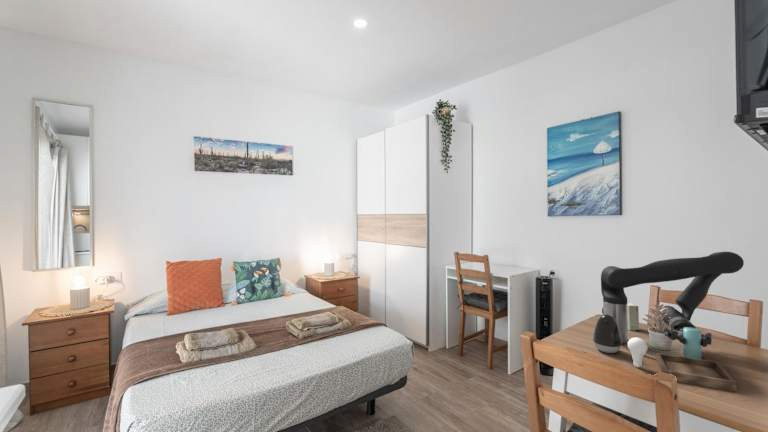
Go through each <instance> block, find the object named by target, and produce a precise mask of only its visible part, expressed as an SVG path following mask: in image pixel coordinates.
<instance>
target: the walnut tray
mask: <svg viewBox="0 0 768 432" xmlns="http://www.w3.org/2000/svg"><path fill="white" fill-rule="evenodd" d="M655 361H656V363H657V366H658V367H659V369H660V372H661V373H662V372H664V373H667V374H672V375H674V376H676V378H677V381H676V382H679V383H683V384H685V383H686V384H690V385H696V386H702V387H708V388H713V389H718V390H722V391H723V390H724V391H725V390H726V391H729V392H730V391H731V392H736V393H737V382H736V380H734V379H733V377H732V376H731V375H730V373H728V372H727V371H726V370H725V368H724V367H723V366H722V365H721V364H720V362H718V361H714V360H708V359H702V360H693V359H689V358H686V357H684V356H681V355H675V354H668V353H660V352H655Z"/></svg>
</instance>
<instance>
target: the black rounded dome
mask: <svg viewBox="0 0 768 432" xmlns="http://www.w3.org/2000/svg"><path fill="white" fill-rule="evenodd" d="M592 341H593V343H594V346H595V348H597V349H598V351H600V352H602V353H606V354H615V353H618V352H619V351H620V349H621V347H622V346H623V343H622V340H621V335H620V331H619V328H618V325H617V323H616V321H615V320H614V318H613V317H612V316H610V315H603V314H601V315H600V316H599V317H598V319H597V321H596V324H595V326H594V331H593V337H592Z"/></svg>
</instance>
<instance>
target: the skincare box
mask: <svg viewBox="0 0 768 432" xmlns="http://www.w3.org/2000/svg"><path fill="white" fill-rule="evenodd" d="M627 312H628V331H636V330H639V331H640V322H639V321H640V318H639V316H640V315H639V305H636V304H634V303H633V302H627Z"/></svg>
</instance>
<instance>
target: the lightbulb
mask: <svg viewBox="0 0 768 432" xmlns="http://www.w3.org/2000/svg"><path fill="white" fill-rule="evenodd" d="M627 348H628V350H629V351H630V353H631V357H632V358H631V359H632V360H633V362H632V364H633V366H635V367H636V368H638V369H639V368H642V366H643V361H644V356H645V354H646V353H647V352H648V349H649V347H648V344H647V343H646V341H645V340H644V339H642V338H640V337H631V338H630V339H629V340H628V342H627Z"/></svg>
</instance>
